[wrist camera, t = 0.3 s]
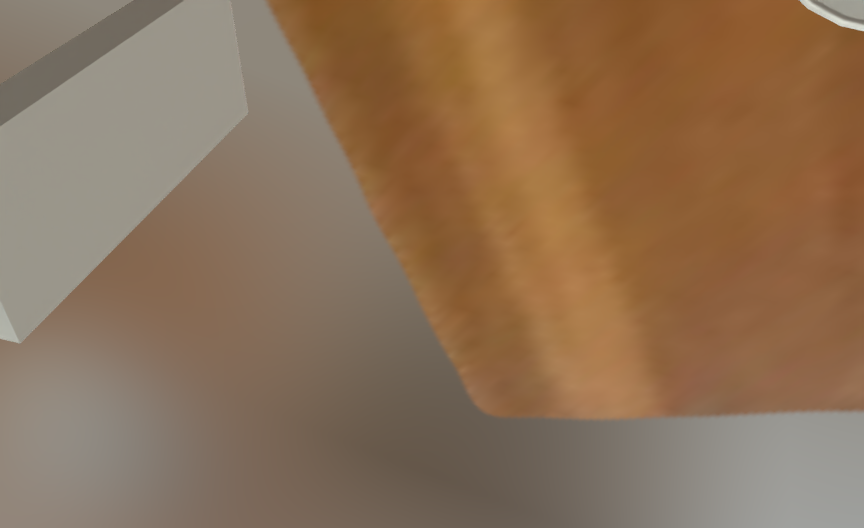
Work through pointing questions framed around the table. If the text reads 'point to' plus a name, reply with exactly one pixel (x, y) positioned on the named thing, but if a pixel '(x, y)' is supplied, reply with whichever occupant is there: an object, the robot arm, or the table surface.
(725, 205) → the table surface
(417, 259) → the table surface
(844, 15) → the mug
